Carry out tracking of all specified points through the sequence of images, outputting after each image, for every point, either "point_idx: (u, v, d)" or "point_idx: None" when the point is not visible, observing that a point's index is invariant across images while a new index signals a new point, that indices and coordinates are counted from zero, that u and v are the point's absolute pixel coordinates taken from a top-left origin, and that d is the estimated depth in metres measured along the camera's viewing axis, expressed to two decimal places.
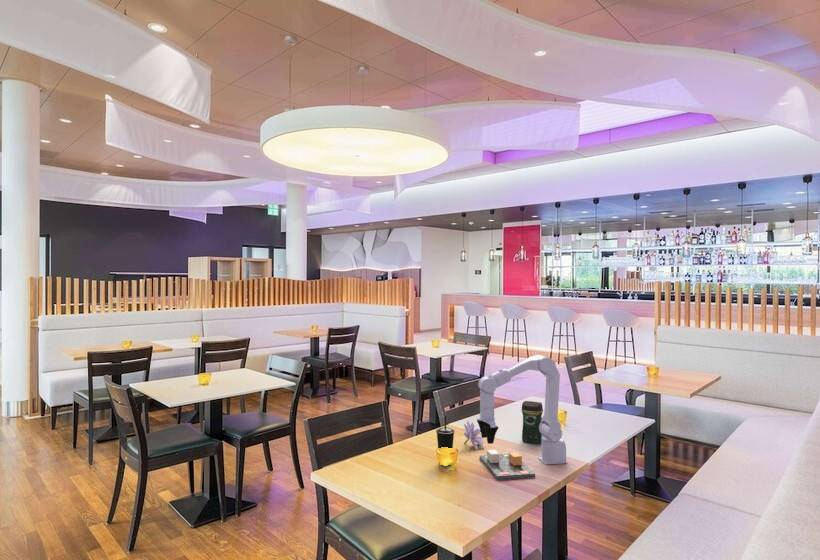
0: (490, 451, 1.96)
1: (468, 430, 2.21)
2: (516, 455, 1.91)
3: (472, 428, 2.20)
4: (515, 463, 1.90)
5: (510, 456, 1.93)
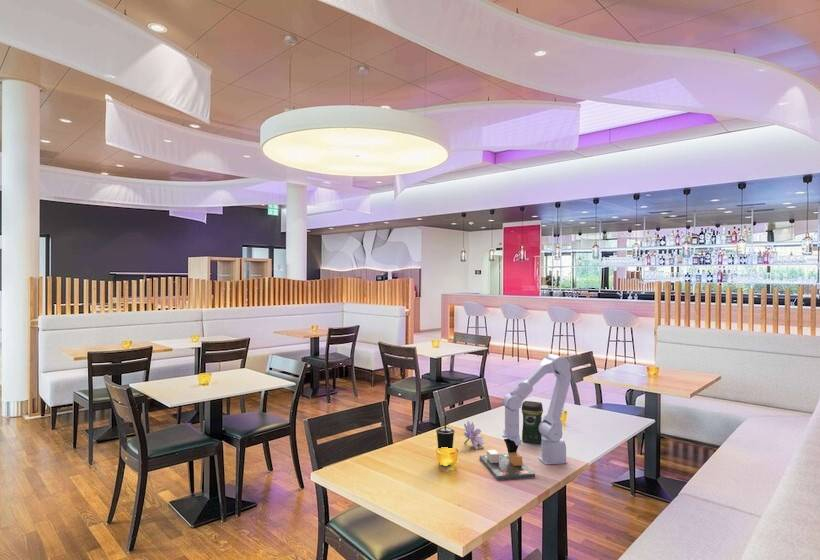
0: (490, 451, 1.96)
1: (468, 430, 2.21)
2: (516, 455, 1.91)
3: (472, 428, 2.20)
4: (515, 463, 1.89)
5: (510, 456, 1.93)
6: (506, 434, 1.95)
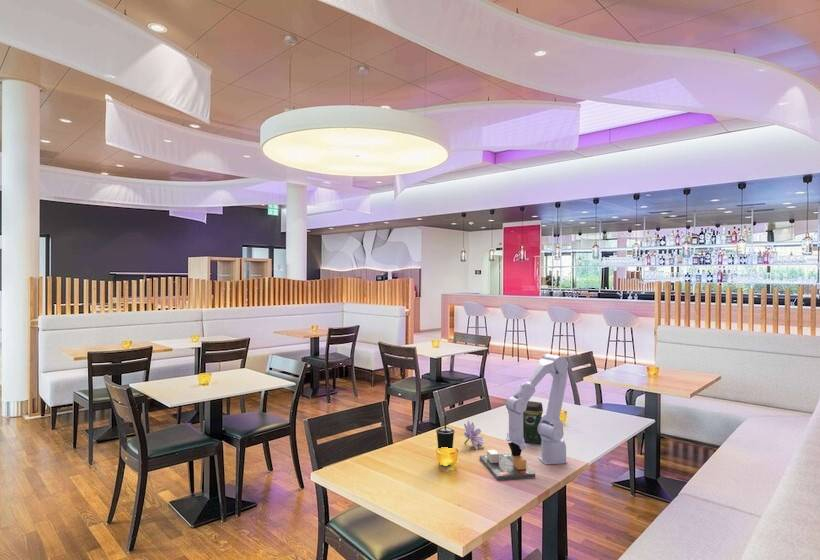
0: (490, 451, 1.96)
1: (468, 430, 2.21)
2: (520, 459, 1.87)
3: (472, 428, 2.20)
4: (519, 467, 1.85)
5: (514, 460, 1.89)
6: (510, 437, 1.90)
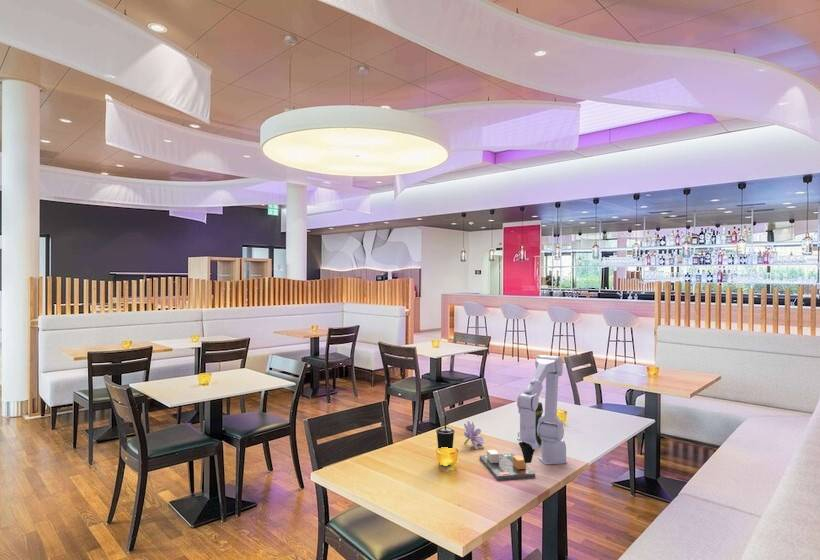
0: (490, 451, 1.96)
1: (468, 430, 2.21)
2: (520, 459, 1.87)
3: (472, 428, 2.20)
4: (519, 467, 1.86)
5: (514, 460, 1.89)
6: (521, 437, 1.79)
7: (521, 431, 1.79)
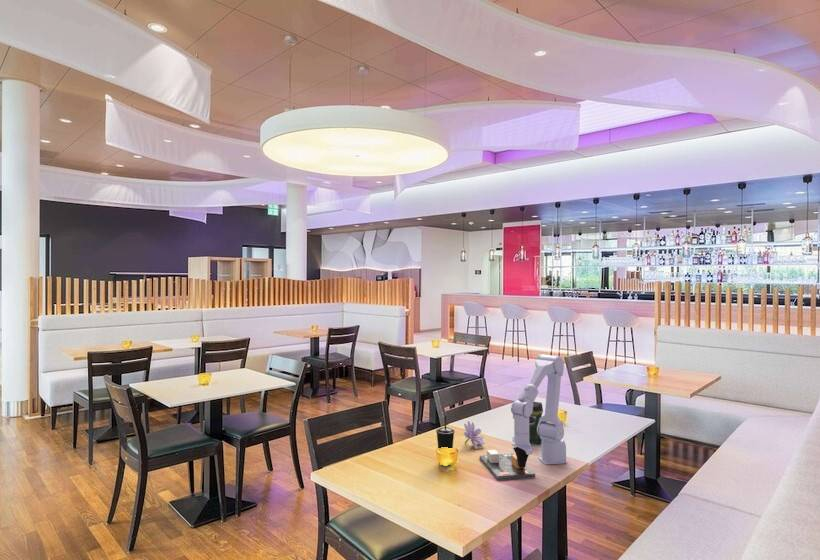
0: (490, 451, 1.96)
1: None
2: None
3: (472, 428, 2.20)
4: (518, 466, 1.87)
5: (513, 459, 1.90)
6: (516, 442, 1.85)
7: (515, 437, 1.85)
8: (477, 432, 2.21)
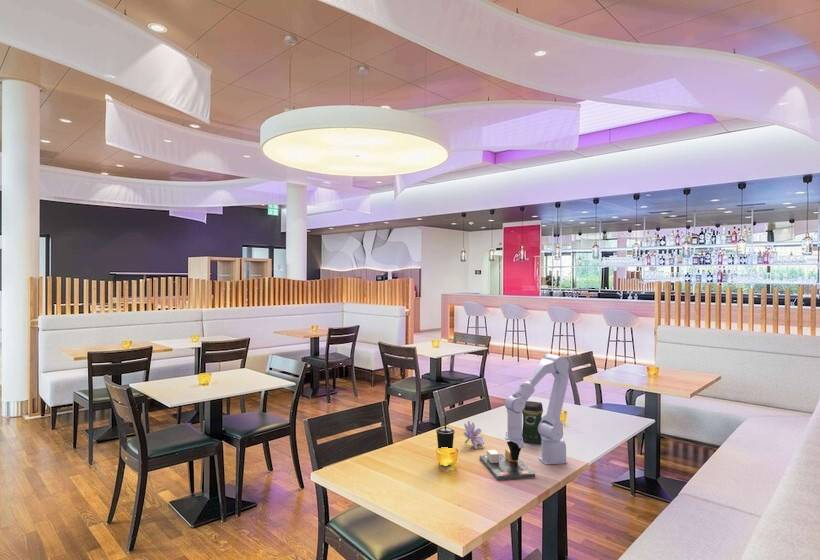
0: (490, 451, 1.96)
1: None
2: None
3: (472, 428, 2.21)
4: (511, 459, 1.94)
5: (506, 452, 1.97)
6: (509, 436, 1.92)
7: (508, 431, 1.92)
8: (477, 432, 2.21)
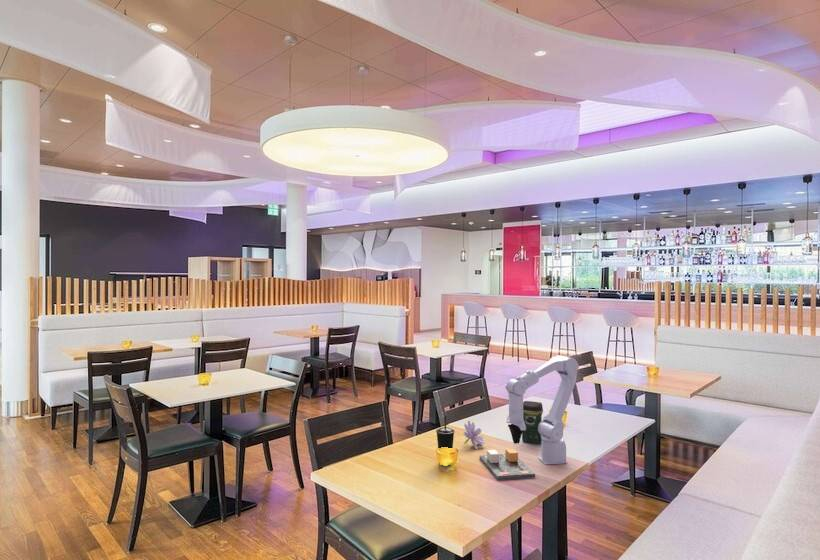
0: (490, 451, 1.96)
1: None
2: (512, 451, 1.95)
3: (473, 428, 2.21)
4: (511, 459, 1.94)
5: (506, 453, 1.97)
6: (510, 419, 1.92)
7: (510, 414, 1.93)
8: (477, 432, 2.21)
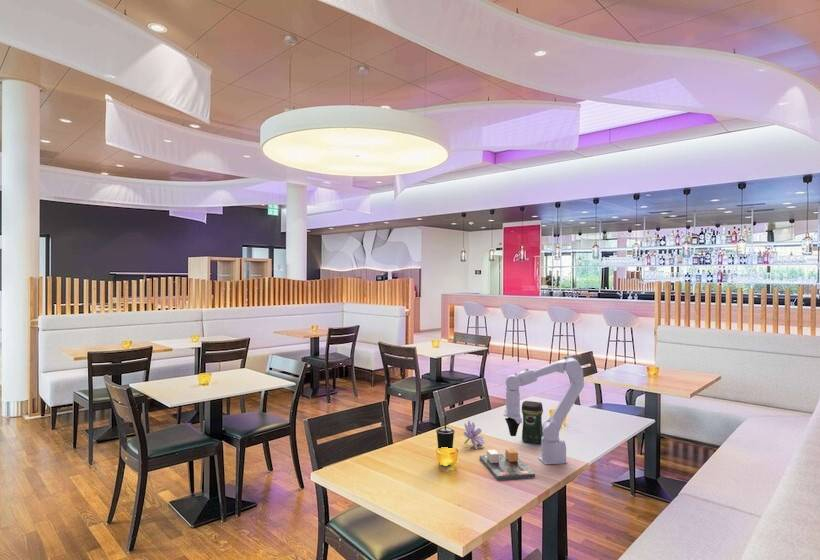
0: (490, 451, 1.96)
1: None
2: (512, 451, 1.95)
3: (473, 428, 2.21)
4: (511, 459, 1.94)
5: (506, 453, 1.97)
6: (507, 413, 2.02)
7: (507, 408, 2.02)
8: (477, 432, 2.21)
